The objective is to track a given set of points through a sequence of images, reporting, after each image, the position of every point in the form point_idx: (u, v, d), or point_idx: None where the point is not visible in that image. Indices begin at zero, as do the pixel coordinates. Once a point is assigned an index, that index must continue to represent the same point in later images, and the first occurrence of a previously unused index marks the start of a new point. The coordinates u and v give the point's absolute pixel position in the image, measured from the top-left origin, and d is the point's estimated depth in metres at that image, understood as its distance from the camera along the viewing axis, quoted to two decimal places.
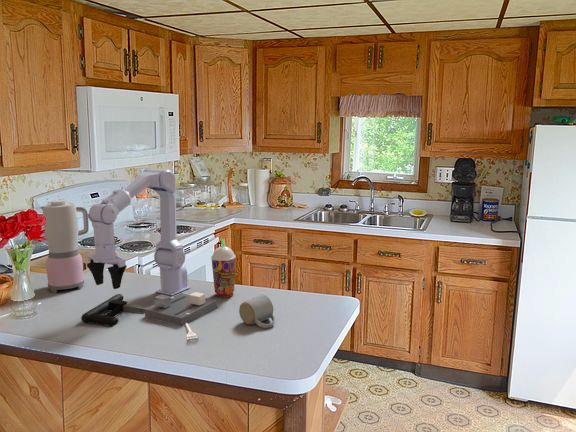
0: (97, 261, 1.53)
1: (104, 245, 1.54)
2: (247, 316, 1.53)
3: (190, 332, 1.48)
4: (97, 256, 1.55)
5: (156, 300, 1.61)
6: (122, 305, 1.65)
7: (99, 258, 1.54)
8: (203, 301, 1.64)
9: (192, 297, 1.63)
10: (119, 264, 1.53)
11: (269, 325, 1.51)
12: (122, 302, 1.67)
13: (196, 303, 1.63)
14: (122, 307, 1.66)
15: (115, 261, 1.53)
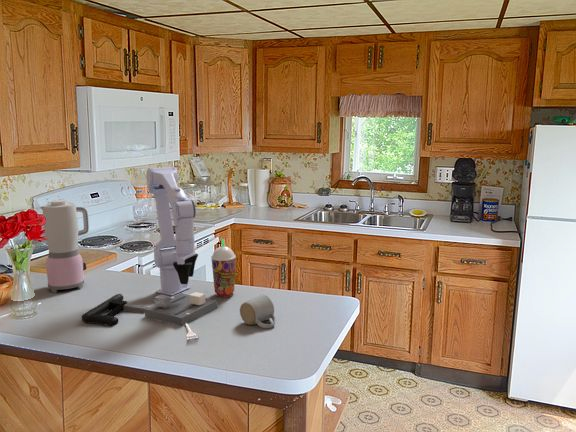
0: (173, 253, 1.63)
1: (177, 240, 1.61)
2: (248, 317, 1.52)
3: (190, 332, 1.48)
4: None
5: (156, 300, 1.61)
6: (122, 305, 1.65)
7: (176, 251, 1.64)
8: (203, 301, 1.64)
9: (192, 297, 1.63)
10: None
11: (270, 325, 1.51)
12: (122, 302, 1.67)
13: (196, 303, 1.63)
14: (122, 307, 1.66)
15: (177, 257, 1.59)
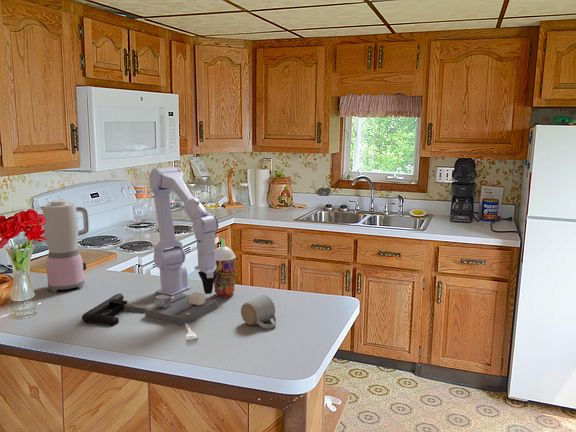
0: (195, 268, 1.65)
1: (201, 254, 1.64)
2: (249, 317, 1.52)
3: (190, 332, 1.48)
4: (198, 263, 1.66)
5: (156, 300, 1.61)
6: (122, 305, 1.66)
7: (198, 266, 1.66)
8: (203, 301, 1.64)
9: (192, 297, 1.63)
10: (206, 275, 1.60)
11: (271, 326, 1.51)
12: (122, 302, 1.67)
13: (196, 303, 1.63)
14: (123, 307, 1.66)
15: (205, 271, 1.61)
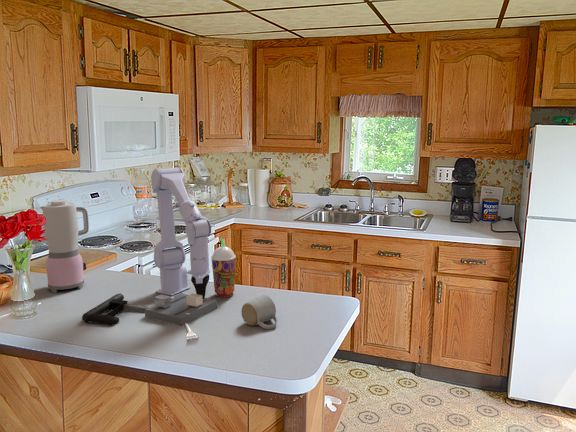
0: (187, 272, 1.63)
1: (192, 259, 1.61)
2: (250, 317, 1.52)
3: (190, 332, 1.48)
4: None
5: (156, 300, 1.61)
6: (123, 305, 1.66)
7: (191, 270, 1.63)
8: (200, 302, 1.62)
9: (189, 298, 1.62)
10: (195, 280, 1.57)
11: (272, 326, 1.51)
12: (123, 302, 1.67)
13: (193, 304, 1.61)
14: (123, 307, 1.66)
15: (195, 276, 1.59)
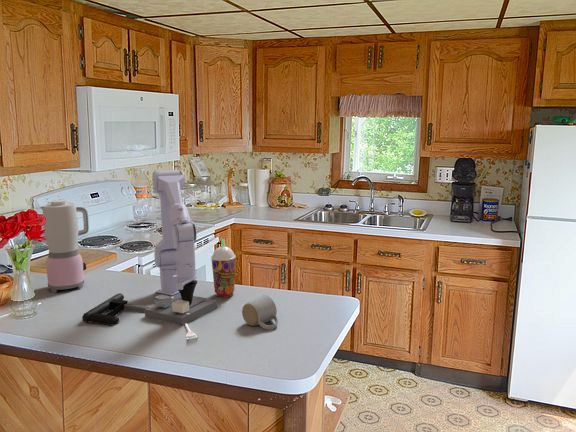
0: (173, 277, 1.58)
1: (177, 264, 1.56)
2: (250, 318, 1.52)
3: (189, 332, 1.48)
4: None
5: (156, 300, 1.61)
6: (123, 304, 1.66)
7: (176, 275, 1.58)
8: (187, 309, 1.57)
9: (175, 305, 1.56)
10: None
11: (272, 326, 1.50)
12: (123, 301, 1.67)
13: (179, 311, 1.56)
14: (123, 306, 1.66)
15: (176, 282, 1.53)
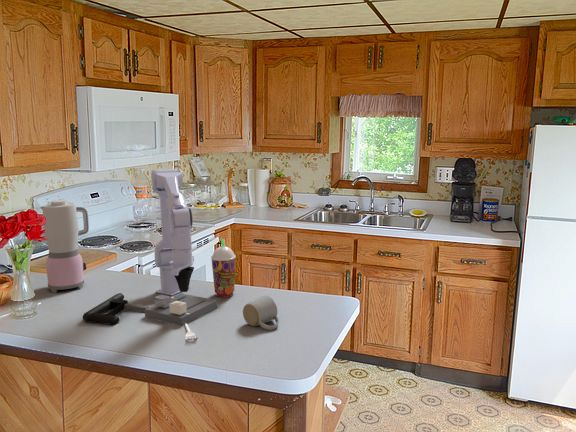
0: (169, 263, 1.56)
1: (173, 249, 1.54)
2: (251, 318, 1.51)
3: (189, 332, 1.48)
4: None
5: (156, 300, 1.61)
6: (123, 304, 1.66)
7: None
8: (184, 310, 1.56)
9: (172, 306, 1.55)
10: None
11: (273, 327, 1.50)
12: (123, 301, 1.67)
13: (177, 312, 1.55)
14: (123, 306, 1.66)
15: (172, 268, 1.51)
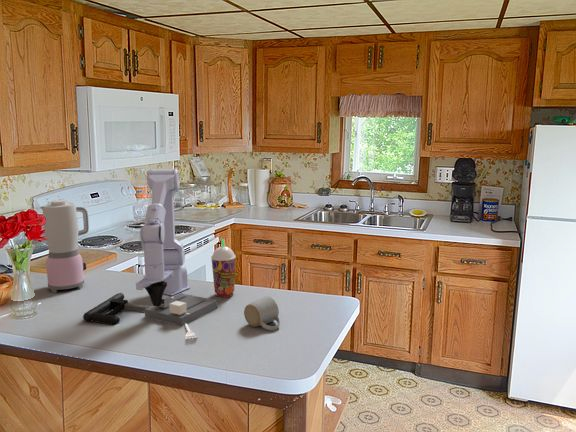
0: None
1: None
2: (252, 319, 1.51)
3: (189, 332, 1.48)
4: None
5: None
6: (123, 304, 1.66)
7: None
8: (184, 310, 1.56)
9: (172, 306, 1.55)
10: None
11: (274, 327, 1.50)
12: (123, 301, 1.67)
13: (177, 312, 1.55)
14: (124, 306, 1.67)
15: None
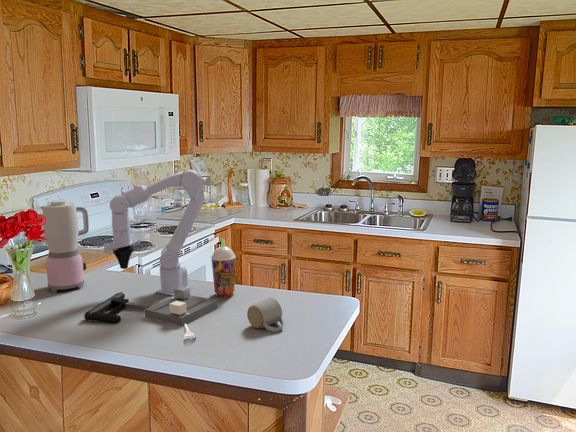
0: None
1: None
2: (256, 320, 1.50)
3: (188, 332, 1.48)
4: None
5: (176, 292, 1.69)
6: (124, 303, 1.67)
7: None
8: (184, 310, 1.56)
9: (172, 306, 1.55)
10: None
11: (278, 329, 1.49)
12: (124, 300, 1.68)
13: (177, 312, 1.55)
14: (124, 305, 1.67)
15: None
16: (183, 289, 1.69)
